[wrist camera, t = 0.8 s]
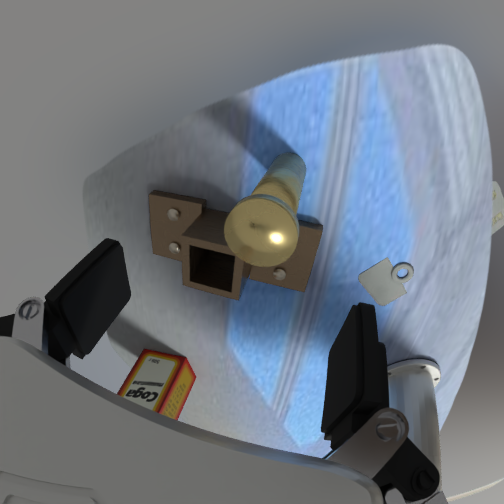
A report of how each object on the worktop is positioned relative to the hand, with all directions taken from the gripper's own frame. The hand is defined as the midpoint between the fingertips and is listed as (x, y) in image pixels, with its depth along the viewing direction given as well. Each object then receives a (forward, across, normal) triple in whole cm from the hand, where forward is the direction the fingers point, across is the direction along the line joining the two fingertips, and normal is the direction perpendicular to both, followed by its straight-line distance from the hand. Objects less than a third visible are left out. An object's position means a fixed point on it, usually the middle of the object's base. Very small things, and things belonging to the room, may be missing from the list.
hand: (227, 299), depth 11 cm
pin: (+18, 0, 0) cm, 18 cm away
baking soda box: (+19, +15, +40) cm, 47 cm away
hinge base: (+18, +5, +9) cm, 21 cm away
